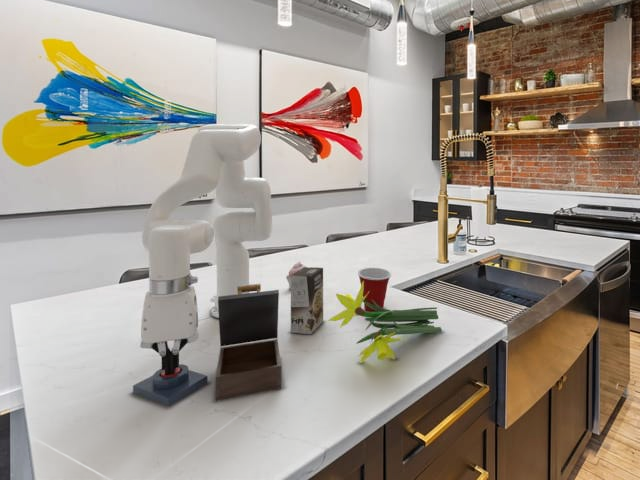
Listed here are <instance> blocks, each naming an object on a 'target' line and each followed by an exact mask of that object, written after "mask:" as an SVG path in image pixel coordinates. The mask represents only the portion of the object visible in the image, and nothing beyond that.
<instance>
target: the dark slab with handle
mask: <svg viewBox="0 0 640 480" xmlns="http://www.w3.org/2000/svg"><path fill="white" fill-rule="evenodd" d="M261 287H262V286H261V283H253V284H252V283H251V284H249V285H242V286H238V294H236V295H227V296H219V297H218V311H219V318H218V330H219V344H220V345H219V346H220V347H227V346H234V345H240V344H247V343H254V342H260V341H267V340H273V339H278V335H279V334H278V333H279V332H278V331H279V330H278V329H279V301H280V300H279V299H280V293H279V292H280V291H279V289H274V290H273V289H272V290H263V291H261V289H262V288H261ZM244 292H249V293H245V294H242V293H244Z"/></svg>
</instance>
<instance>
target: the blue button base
mask: <svg viewBox="0 0 640 480" xmlns="http://www.w3.org/2000/svg"><path fill="white" fill-rule="evenodd" d="M179 368H180V369H181V373H179V374H177V375H175V376H172V377H166V378H163V377H161V373H162V371H164V370H162V368H160V369H158V370H156V371H155V372H154V373H153V374H152V375H151V376H149V377H147V378H145V379H143V380H141V381H139V382H137V383H134V384H133V385H132V393H133V394H135V395H136V396H139V397H142V398H145V399H147V400H150V401H152V402H155V403H158V404H160V405H163V406H165V407H170V406H172V405H174V404H175V403H177V402H179V401H180V400H182V399H184V398H185V397H187V396H189V395H190V394H192V393H194V392H196V391H197V390H199V389H201V388H202V387H204V386H206V385H207V384H208V383H209V382H208V375H206V374H203V373H199V372H197V371H194V370H191V369H189V366H188V365H186V364H184V363H183V364H182V363H179Z"/></svg>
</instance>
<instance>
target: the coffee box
mask: <svg viewBox="0 0 640 480" xmlns="http://www.w3.org/2000/svg"><path fill="white" fill-rule="evenodd" d="M323 322H324V267H314V266H313V267H307V266H306V267H304V268H302V269H300V270H299V271H297V272H295V273H294V274H292V275H291V290H290V333H292V334H303V335H311V334H313V333H314V331H316V330H317V329H318V328H319V327H320V326H321V325H322V324H323Z"/></svg>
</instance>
